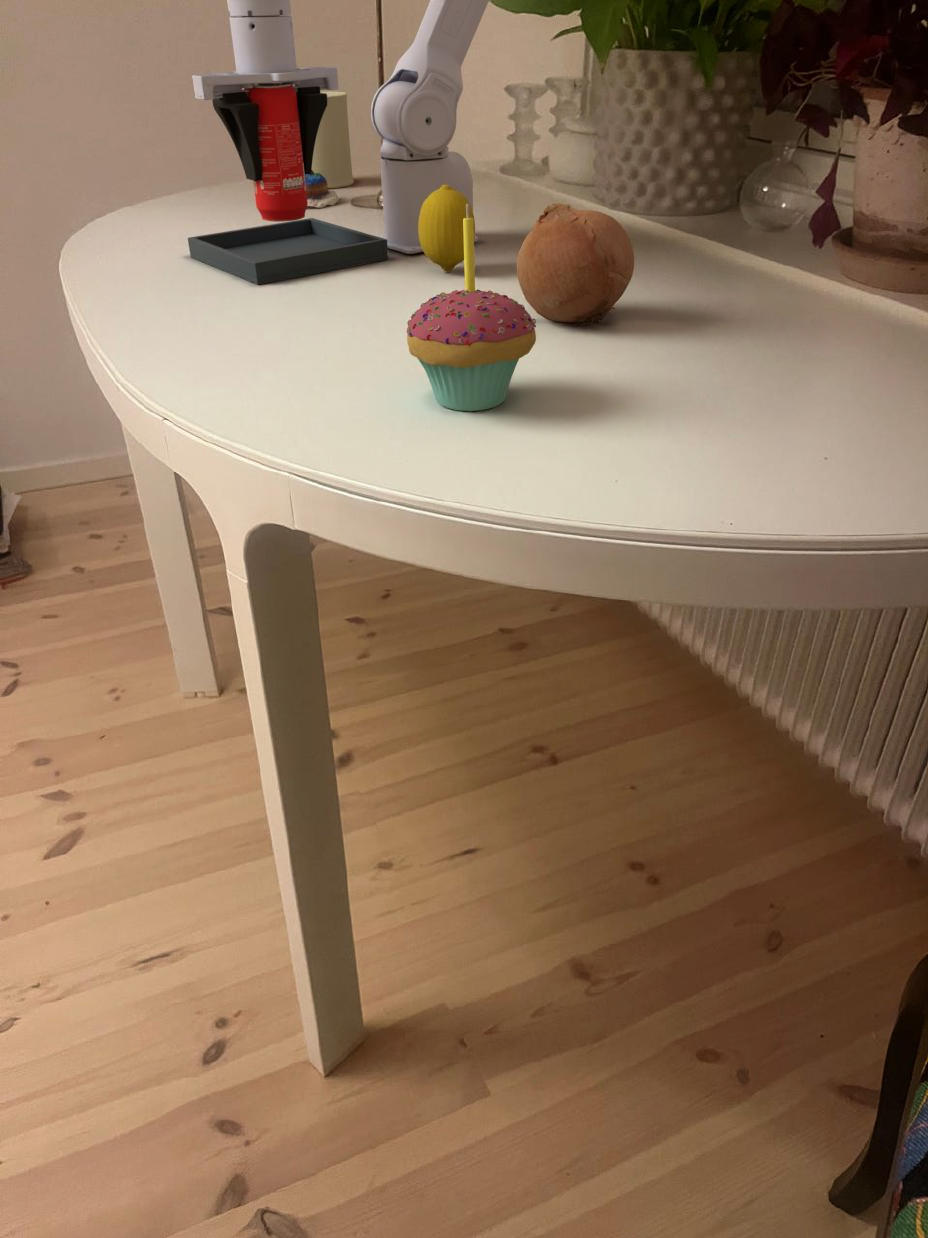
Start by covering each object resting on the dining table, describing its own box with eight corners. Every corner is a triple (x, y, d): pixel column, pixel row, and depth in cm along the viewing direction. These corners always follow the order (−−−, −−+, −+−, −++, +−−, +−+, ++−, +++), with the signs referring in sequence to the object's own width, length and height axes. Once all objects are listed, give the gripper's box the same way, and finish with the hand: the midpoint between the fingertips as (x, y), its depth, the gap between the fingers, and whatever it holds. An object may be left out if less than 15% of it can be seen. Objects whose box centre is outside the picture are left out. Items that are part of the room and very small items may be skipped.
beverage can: (266, 224, 94) (249, 86, 88) (251, 215, 98) (234, 83, 92) (315, 218, 96) (302, 83, 90) (299, 210, 100) (285, 80, 94)
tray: (313, 236, 108) (312, 217, 107) (388, 259, 98) (387, 239, 97) (190, 257, 101) (187, 237, 100) (257, 284, 91) (254, 263, 90)
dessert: (290, 190, 129) (309, 152, 126) (331, 220, 131) (351, 183, 127) (270, 206, 123) (289, 166, 120) (312, 237, 125) (333, 199, 121)
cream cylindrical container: (282, 188, 135) (271, 93, 129) (301, 178, 143) (292, 87, 136) (344, 189, 134) (336, 92, 127) (360, 178, 141) (354, 87, 135)
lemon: (469, 279, 91) (468, 189, 86) (414, 278, 92) (410, 188, 87) (480, 265, 95) (479, 179, 91) (427, 264, 96) (424, 178, 92)
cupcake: (408, 380, 68) (398, 199, 61) (525, 374, 68) (529, 195, 61) (412, 426, 60) (402, 226, 54) (544, 419, 61) (550, 221, 54)
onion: (528, 351, 82) (483, 237, 79) (620, 307, 84) (580, 194, 81) (569, 341, 73) (520, 212, 70) (671, 293, 75) (628, 165, 72)
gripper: (207, 18, 81) (231, 189, 89) (349, 14, 89) (361, 172, 96) (173, 18, 86) (199, 180, 93) (311, 13, 93) (325, 164, 101)
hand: (278, 176), depth 95 cm, fingers closed on beverage can, 5 cm apart
